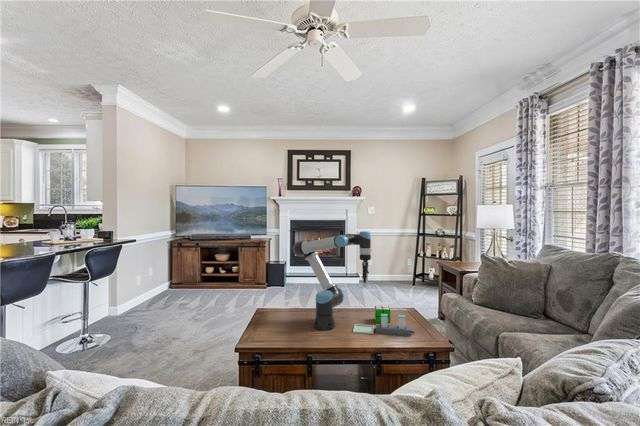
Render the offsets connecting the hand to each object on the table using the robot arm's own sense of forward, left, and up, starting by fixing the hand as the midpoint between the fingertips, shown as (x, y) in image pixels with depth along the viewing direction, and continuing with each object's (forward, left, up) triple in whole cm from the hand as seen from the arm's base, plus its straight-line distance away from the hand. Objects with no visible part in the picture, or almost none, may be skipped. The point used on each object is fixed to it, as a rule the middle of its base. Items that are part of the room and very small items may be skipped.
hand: (365, 285), depth 205 cm
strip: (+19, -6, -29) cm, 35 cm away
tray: (-1, -6, -29) cm, 29 cm away
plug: (+12, -6, -28) cm, 32 cm away
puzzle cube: (+11, +14, -29) cm, 34 cm away
